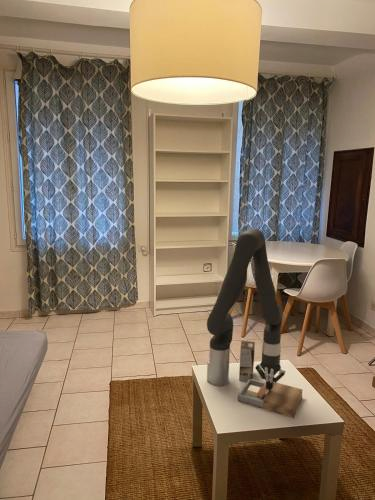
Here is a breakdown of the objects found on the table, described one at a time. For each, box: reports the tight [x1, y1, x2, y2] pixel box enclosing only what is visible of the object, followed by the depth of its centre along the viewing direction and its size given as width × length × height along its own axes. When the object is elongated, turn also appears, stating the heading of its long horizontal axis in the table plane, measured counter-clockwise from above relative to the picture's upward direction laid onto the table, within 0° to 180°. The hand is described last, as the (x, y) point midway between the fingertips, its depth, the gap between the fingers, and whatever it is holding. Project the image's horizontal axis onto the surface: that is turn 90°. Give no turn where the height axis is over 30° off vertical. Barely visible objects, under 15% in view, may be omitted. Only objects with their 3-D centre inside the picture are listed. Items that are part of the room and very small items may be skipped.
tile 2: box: [257, 382, 267, 398], centre depth 166 cm, size 4×4×2 cm
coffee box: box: [238, 340, 256, 382], centre depth 182 cm, size 9×6×16 cm
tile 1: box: [247, 385, 260, 397], centre depth 168 cm, size 4×4×2 cm
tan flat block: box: [262, 381, 303, 419], centre depth 162 cm, size 12×16×4 cm
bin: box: [237, 378, 269, 410], centre depth 167 cm, size 11×15×3 cm
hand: (269, 388), depth 164 cm, fingers closed
